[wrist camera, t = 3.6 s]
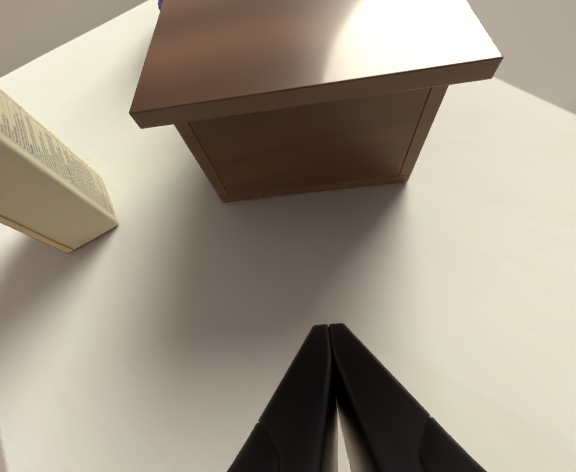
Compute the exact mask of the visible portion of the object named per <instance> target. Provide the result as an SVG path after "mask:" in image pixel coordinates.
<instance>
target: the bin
mask: <svg viewBox="0 0 576 472" xmlns="http://www.w3.org/2000/svg"><path fill="white" fill-rule="evenodd" d="M448 86H449V85H444V86H437V87H430V88H423V89H416V90H409V91H402V92H395V93H388V94H381V95H374V96H367V97H360V98H353V99H346V100H339V101H332V102H325V103H318V104H311V105H304V106H297V107H290V108H283V109H276V110H269V111H262V112H255V113H248V114H241V115H234V116H227V117H220V118H213V119H206V120H199V121H192V122H185V123H178V124H174V125H175V127H176V128H177V130H178V132H179V133H180V135H181V136H182V138H183V140H184V141H185V143H186V144H187V146H188V148H189V149H190V151H191V152H192V154H193V156H194V157H195V159H196V160H197V162H198V164H199V165H200V167H201V168H202V170H203V172H204V173H205V175H206V176H207V178H208V180H209V181H210V183H211V184H212V186H213V188H214V189H215V191H216V192H217V194H218V196H219V197H220V199H221V200H222V202H228V201H237V200H246V199H255V198H264V197H272V196H281V195H290V194H299V193H308V192H317V191H326V190H335V189H344V188H353V187H362V186H371V185H379V184H388V183H397V182H406V181H408V179H409V177H410V174H411V172H412V170H413V168H414V165H415V163H416V161H417V158H418V156H419V154H420V151H421V149H422V147H423V144H424V142H425V140H426V137H427V135H428V133H429V130H430V128H431V126H432V123H433V121H434V118H435V116H436V114H437V111H438V109H439V107H440V104H441V102H442V100H443V97H444V95H445V93H446V90H447V88H448Z"/></svg>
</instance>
